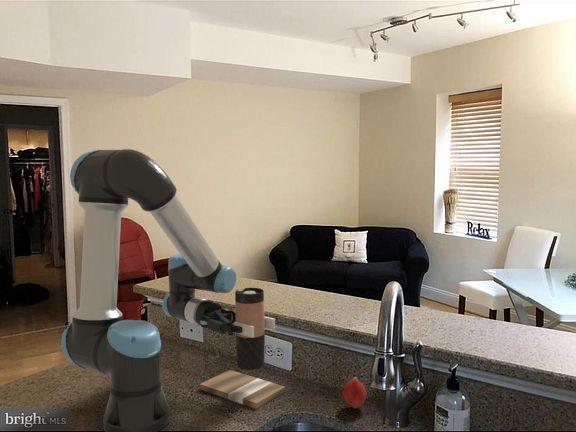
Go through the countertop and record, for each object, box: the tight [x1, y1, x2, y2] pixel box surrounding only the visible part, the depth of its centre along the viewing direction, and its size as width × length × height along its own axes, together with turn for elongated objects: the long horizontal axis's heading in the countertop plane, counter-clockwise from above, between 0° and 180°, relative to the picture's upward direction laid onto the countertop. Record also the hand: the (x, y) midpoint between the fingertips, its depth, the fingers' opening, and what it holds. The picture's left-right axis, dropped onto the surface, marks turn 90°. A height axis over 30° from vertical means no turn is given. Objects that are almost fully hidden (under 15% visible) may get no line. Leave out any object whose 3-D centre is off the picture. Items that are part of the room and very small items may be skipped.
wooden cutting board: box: [199, 369, 286, 410], centre depth 137 cm, size 20×12×2 cm, turn 54°
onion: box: [342, 376, 367, 409], centre depth 126 cm, size 6×6×8 cm
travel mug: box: [234, 287, 266, 371], centre depth 134 cm, size 8×8×20 cm
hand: (263, 327), depth 131 cm, fingers closed on travel mug, 7 cm apart
